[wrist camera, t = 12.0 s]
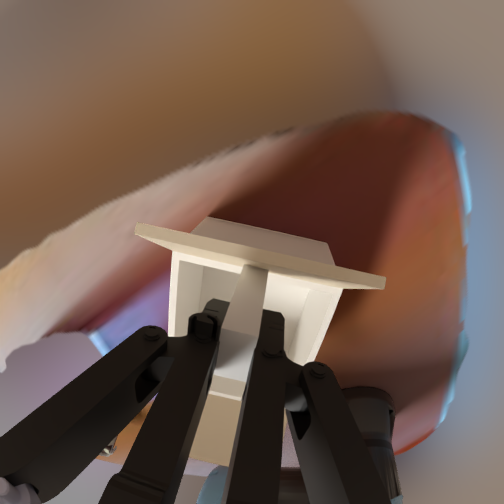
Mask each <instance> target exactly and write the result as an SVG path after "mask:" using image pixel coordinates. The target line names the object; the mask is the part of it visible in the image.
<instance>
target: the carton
mask: <svg viewBox="0 0 504 504" xmlns="http://www.w3.org/2000/svg"><path fill="white" fill-rule="evenodd" d="M190 234H194V235H198V236H203V237H208V238H212V239H217V240H221V241H226V242H230V243H235V244H239V245H244V246H248V247H253V248H258V249H262V250H267V251H271V252H276V253H280V254H285V255H289V256H294V257H298V258H302V259H307V260H311V261H316V262H320V263H325V264H329V265H334V266H335V263H334V260H333V258H332V255H331V252H330V249H329V246H328V244H327V243H325V242H321V241H317V240H312V239H308V238H304V237H299V236H295V235H291V234H286V233H282V232H277V231H273V230H268V229H264V228H259V227H255V226H250V225H245V224H241V223H236V222H231V221H227V220H222V219H217V218H212V217H206V218H205V219H204V220H203V221H202V222H201V223H200V224H199V225H198V226H197V227H196V228H195V229H194V230H193V231H192V232H191V233H190ZM242 268H243V267H240V266H236V265H232V264H227V263H223V262H218V261H214V260H210V259H205V258H201V257H197V256H192V255H188V254H184V253H180V252H175V251H173V252H172V265H171V280H170V298H169V323H168V336H169V337H182V336H186V335H187V331H188V319H189V317H190V316H191V315H193V314H195V313H201V312H202V311H203V309H204V307H205V305H206V303H207V302H208V301H210V300H211V299H213V298H214V299H219V300H223V301H227V302H231V299H232V296H233V293H234V291H235V288H236V285H237V282H238V279H239V277H240V274H241V271H242ZM342 290H343V289H342V288H337V287H332V286H327V285H323V284H318V283H313V282H309V281H304V280H299V279H295V278H290V277H286V276H281V275H276V274H272V273H268V278H267V285H266V292H265V298H264V305H263V309H266V310H271V311H276V312H281V313H282V315H283V317H284V318H285V330H284V351H285V352H286V356H287V357H288V358H289V359H290V360H291V361H293V362H295V363H297V364H299V365H301V366H304V364H306V363H308V362H313V361H314V359H315V357H316V355H317V353H318V350H319V348H320V346H321V343H322V341H323V339H324V336H325V334H326V331H327V329H328V327H329V324H330V322H331V319H332V317H333V314H334V311H335V309H336V306H337V304H338V301H339V298H340V296H341V293H342ZM245 385H246V382H243V381H239V380H234V379H230V378H225V377H221V376H217V375H214V373H213V377H212V383H211V387H210V390H209V393H208V394H212V395H216V396H220V397H225V398H229V399H233V400H238V401H241V400H242V396H243V392H244V389H245ZM284 409H285V408H284Z"/></svg>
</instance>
